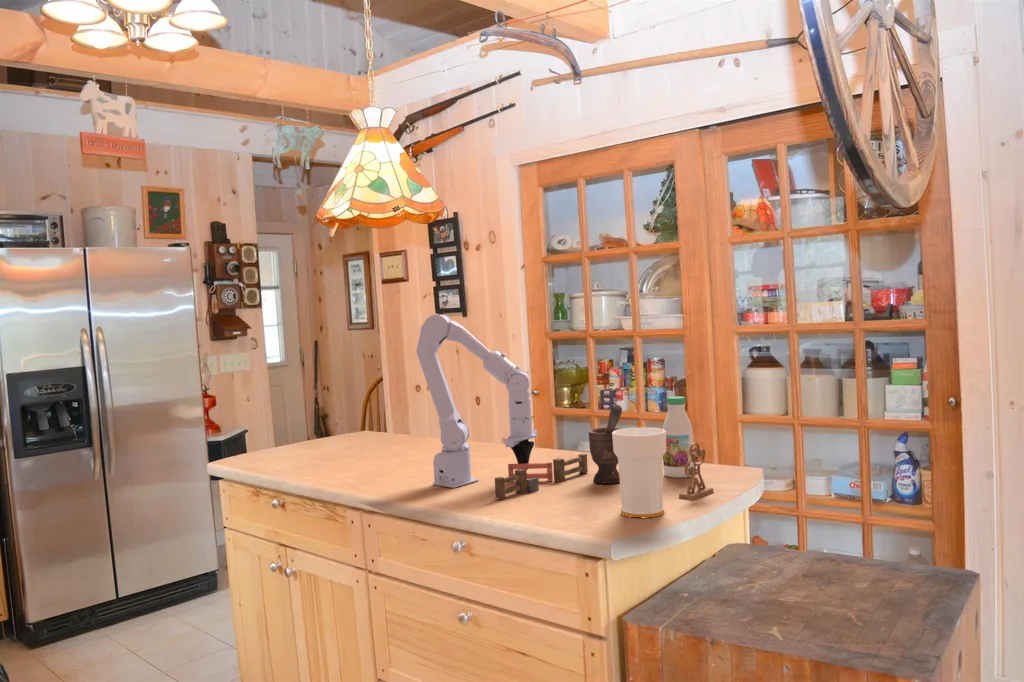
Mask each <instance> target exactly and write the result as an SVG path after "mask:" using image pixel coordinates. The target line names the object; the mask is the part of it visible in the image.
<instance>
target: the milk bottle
mask: <svg viewBox="0 0 1024 682" xmlns="http://www.w3.org/2000/svg"><path fill="white" fill-rule="evenodd" d="M666 407H667V414H666V417H665V420H664V422H663V425H662V429H664V430H665V431H666V452H665V453H664V455H663V456H662V466H663V474H664V476H666V477H668V478H675V479H677V478H679V479H682V478H691V475H690V476H688V475H685V465H686V463H687V461H688V460H689V459H691V457H690V454H689V449H690V446H691V444H692V443H694V431H693V425H692V423H691V421H690V419H689V417H688V415H687V411H686V408H685V407H686V397H685V396H668V397H666ZM694 448H695V445H694V446H693V449H694ZM692 453H693V454H695V452H692ZM693 464H694V463H692V461H691V462H690V463H689V465H688V469H689V467H690V466H693V467H694V465H693ZM688 472H689V471H688Z"/></svg>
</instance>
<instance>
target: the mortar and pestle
mask: <svg viewBox="0 0 1024 682" xmlns="http://www.w3.org/2000/svg"><path fill="white" fill-rule="evenodd" d="M622 412H623V408H622V406H621V405H618V404H614V405H612V407H611V408H610V411H609V416H608V421H607V425H606V426H603V427H602V426H601V427H595V428H591V429H589V430H588V442H589V452H590V456H591V458H592V461H593V462H594V463H595V464H596V466H597V467H598V470H597V472H596V473H595V474H594V477H593V480H592V481H593V483H595V484H606V485H607V484H611V485H612V484H613V485H614V484H620V478H619V470H618V469H617V465H618V457H617V456H616V455H615V453H614V451H613V439H612V432H613V431H615V430H619V429H622V428H620V427H617V425H618V423H619V421H620V418H621V416H622V414H623V413H622Z"/></svg>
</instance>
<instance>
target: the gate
mask: <svg viewBox="0 0 1024 682" xmlns="http://www.w3.org/2000/svg"><path fill="white" fill-rule="evenodd" d="M507 469H508V471H507V472H508V477H510V476H513V475H515V470H518V469H528V470H532V469H533V470H535V469H536V470H537V469H538V470H540V469H546V471H547V472H532V473H531V472H529V473H527V480H528V479H531V478H535V477H536V478H538V480H541V479H542V480H543V479H547V481H548V482H550V481H554V474H553V463H552V462H532V463H531V462H529V463H521V464H518V463H507ZM512 482H514V483H515V481H512Z"/></svg>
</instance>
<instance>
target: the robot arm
mask: <svg viewBox="0 0 1024 682" xmlns="http://www.w3.org/2000/svg"><path fill="white" fill-rule="evenodd" d="M418 338H419V339H418V341H417V346H416V350H415V351H416V355H417V358H418V362H419V363H420V366H421V370H422V373H423V375H424V378H425V381H426V383H427V387H428V389H429V393H430V395H431V398H432V401H433V404H434V406H435V410H436V412H437V413H436V414H437V415H438V423H439V427H440V442H441V444H442V446H441V449H442V450H441V451H440V452H438V453H436V454H435V455H434V458H433V464H432V465H433V478H434V482H432V485H434V486H441V487H445V488H452V489H454V488H457V487H461V486H464V485H469V484H472V483H476V482H479V481H480V479H479V478H474V477H472V464H471V447H470V444H469V443H468V442H467V440H468V439H469V437H470V428H469V426H468V425H467V424H466V422H464V421H463V420H462V417H461V414H460V413H459V411H458V409H457V407H456V404H455V401H454V398H453V396H452V393H451V390H450V387H449V385H448V381H447V379H446V376H445V373H444V370H443V368H442V365H441V364H442V363H441V362H440V361H441V360H440V359H439V355H438V351H439V349H440V347H441V346H442V345H443V342H444V341H445V340H447V341H453V342H457V343H460V344H461V345H462V346H463V347H464V348H466V350H468V351H469V352H471V353H472V354H473V355H475V356H476V357H478V358H479V359H480V360H482V364H483V369H484V370H485V371H487V373H489V374H490V375H491V376H493V377H494V378H495V379H497V380H498V381H499V382H500V383H501V384H504V385H505V387H506V390H507V392H508V401H507V402H508V417H509V418H508V419H509V432H510V433H509V434H510V435H509V436H508V437H507V438H506V439H505V438H504V444H505V445H504V446H505V448H510V449H511V450H512V452H513V454H514V456H515V458H516V462H517V464H521V463H530V457H531V453H532V450H533V448H534V446H535V441H532V440H531V439H536V438H538V430H537V429H533V422H532V405H531V404H532V403H531V398H530V396H531V394H530V390H529V388H530V384H531V382H530V380H531V379H530V377H529V375H528V374H527V372H526V371H524V370H522V369H521V366H519V365H515V364H514V363H513V362H511V361H510V360H509V359H508V358H507V354H506V353H504V352H501V353H500V352H499V350H494V351H491V350H490V349H488V348H487V347H486V346H485V345H484V344H483V343H482V342H481V341H479V339H477V337H475V336H474V335H473V334H472V333H471V332H470V331H469V330H467V329H466V328H465V327H464V326H463V325H461V324H460V323H459V322H457V321H455V320H452V318H451V317H450V316H448V315H447V314H443V313H439V314H432V315H430V316H428V317H427V318H426V319H425V320H424V322H423V323H422V325H421V327H420V333H419V337H418ZM528 470H529V469H526V471H528Z"/></svg>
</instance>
